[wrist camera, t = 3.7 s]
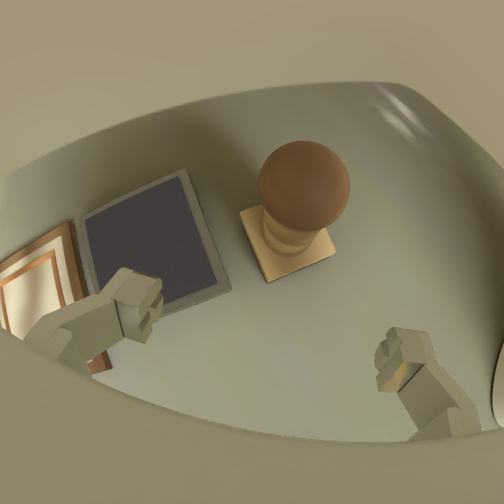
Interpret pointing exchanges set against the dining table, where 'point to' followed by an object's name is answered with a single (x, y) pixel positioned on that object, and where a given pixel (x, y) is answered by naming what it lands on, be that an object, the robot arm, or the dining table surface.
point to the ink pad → (157, 242)
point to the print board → (44, 284)
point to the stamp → (296, 208)
